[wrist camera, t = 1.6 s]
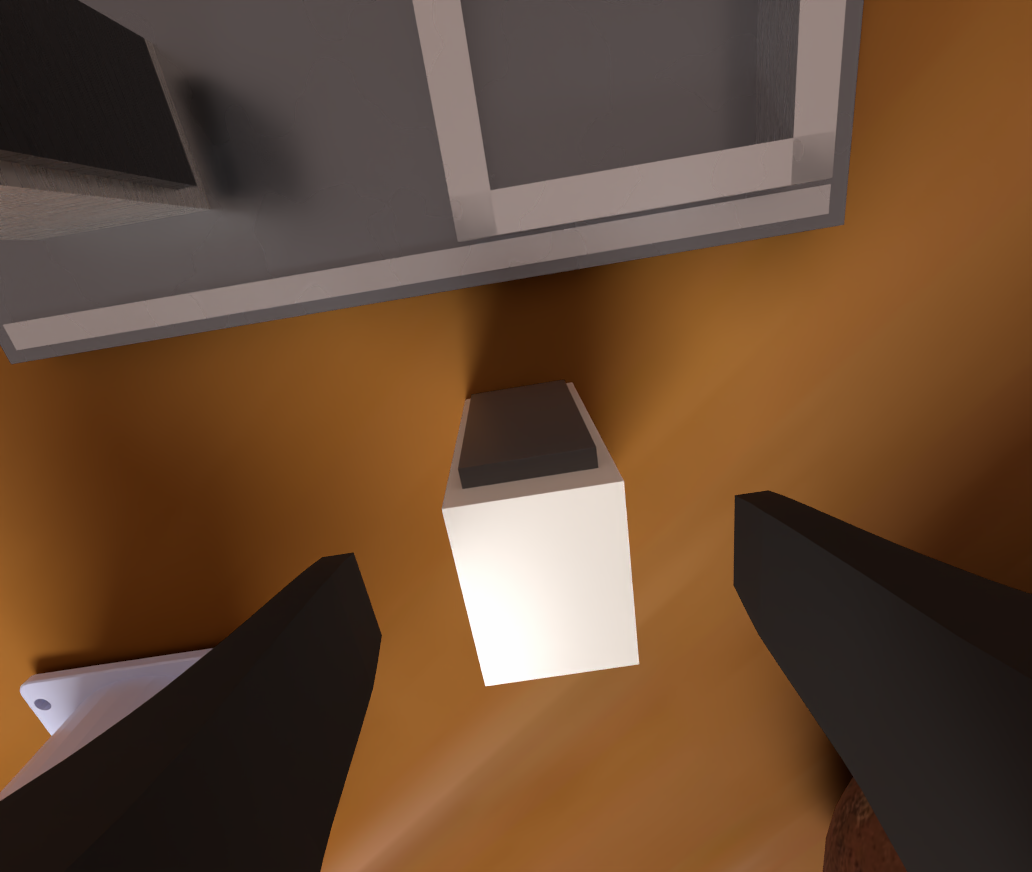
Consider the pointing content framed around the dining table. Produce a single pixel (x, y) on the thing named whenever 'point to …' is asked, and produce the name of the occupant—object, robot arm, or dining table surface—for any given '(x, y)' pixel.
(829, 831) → the pottery
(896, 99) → the dining table surface
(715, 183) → the grey divided tray
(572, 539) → the block
